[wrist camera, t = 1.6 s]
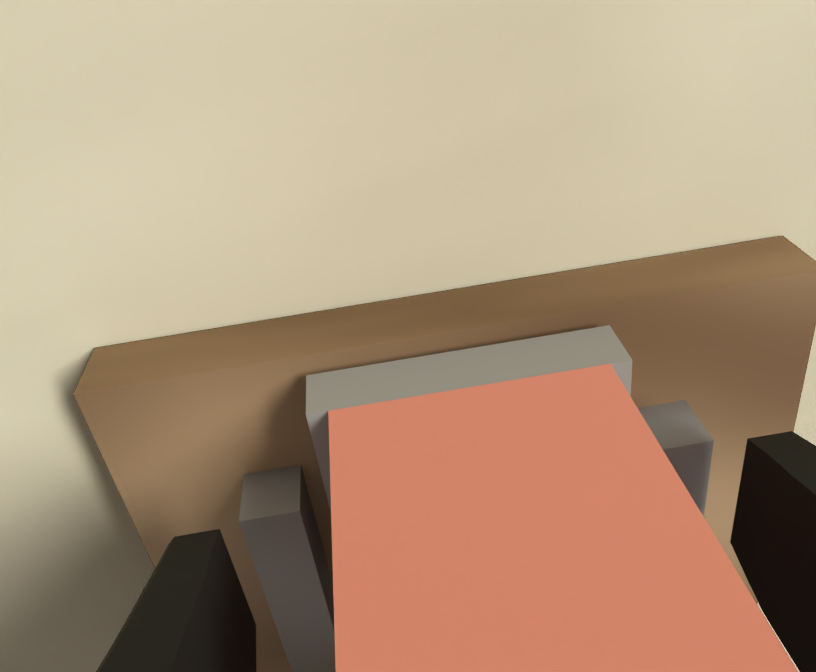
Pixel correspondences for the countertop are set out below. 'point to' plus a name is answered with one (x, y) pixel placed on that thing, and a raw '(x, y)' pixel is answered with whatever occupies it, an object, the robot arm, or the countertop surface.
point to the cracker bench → (419, 336)
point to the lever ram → (519, 520)
